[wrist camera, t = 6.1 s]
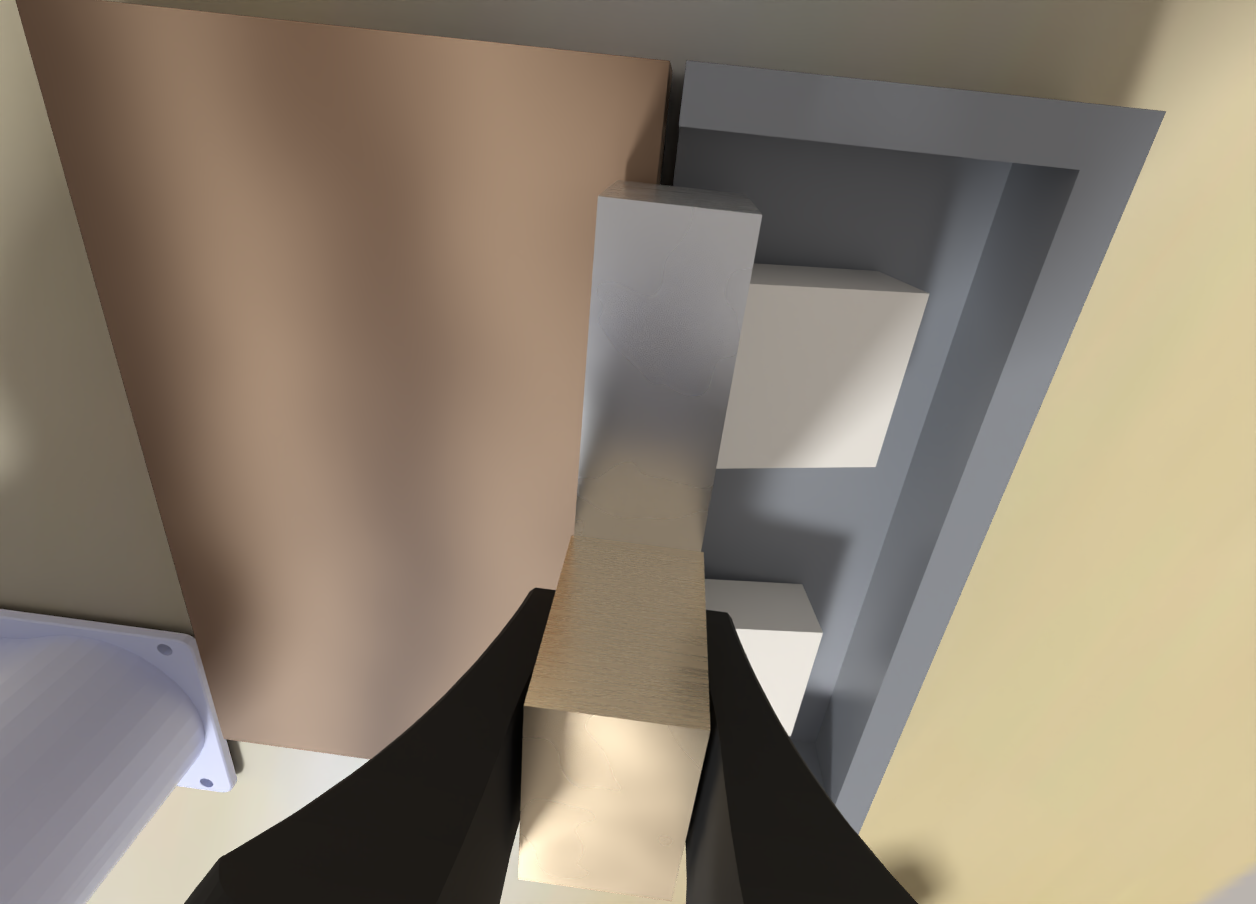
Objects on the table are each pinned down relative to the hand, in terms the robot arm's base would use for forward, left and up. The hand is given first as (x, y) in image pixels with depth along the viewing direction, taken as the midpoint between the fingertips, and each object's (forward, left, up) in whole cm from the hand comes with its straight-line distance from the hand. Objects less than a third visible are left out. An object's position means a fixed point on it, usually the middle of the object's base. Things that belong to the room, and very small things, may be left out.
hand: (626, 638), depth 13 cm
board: (-7, 0, -6) cm, 9 cm away
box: (+4, 0, -6) cm, 7 cm away
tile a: (+3, -5, -6) cm, 8 cm away
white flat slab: (0, 0, -3) cm, 3 cm away
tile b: (+3, +4, -5) cm, 7 cm away
